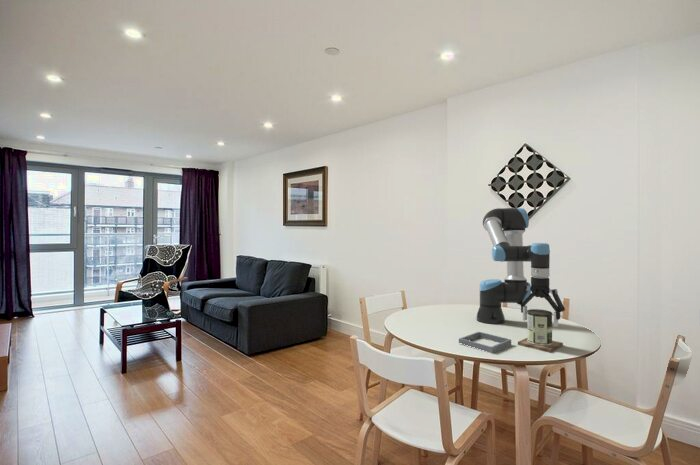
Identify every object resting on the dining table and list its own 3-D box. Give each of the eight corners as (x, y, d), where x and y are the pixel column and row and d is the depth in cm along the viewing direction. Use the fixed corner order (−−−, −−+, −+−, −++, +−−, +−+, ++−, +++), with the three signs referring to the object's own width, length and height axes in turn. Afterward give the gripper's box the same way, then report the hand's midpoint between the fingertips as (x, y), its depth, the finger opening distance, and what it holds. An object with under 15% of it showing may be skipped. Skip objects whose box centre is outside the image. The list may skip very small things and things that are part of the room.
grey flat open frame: (458, 343, 169) (458, 338, 169) (478, 336, 180) (478, 331, 180) (492, 353, 156) (492, 347, 156) (511, 344, 167) (511, 339, 167)
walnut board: (517, 344, 167) (517, 341, 167) (531, 338, 176) (531, 335, 176) (549, 352, 156) (549, 349, 156) (562, 345, 165) (562, 342, 165)
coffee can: (543, 338, 172) (543, 308, 172) (557, 345, 162) (557, 314, 161) (522, 339, 171) (522, 309, 171) (535, 346, 161) (535, 314, 161)
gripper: (509, 274, 173) (509, 319, 174) (566, 281, 154) (566, 330, 154) (517, 273, 178) (517, 316, 178) (573, 279, 158) (573, 327, 159)
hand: (539, 323), depth 166 cm, fingers open, 13 cm apart
